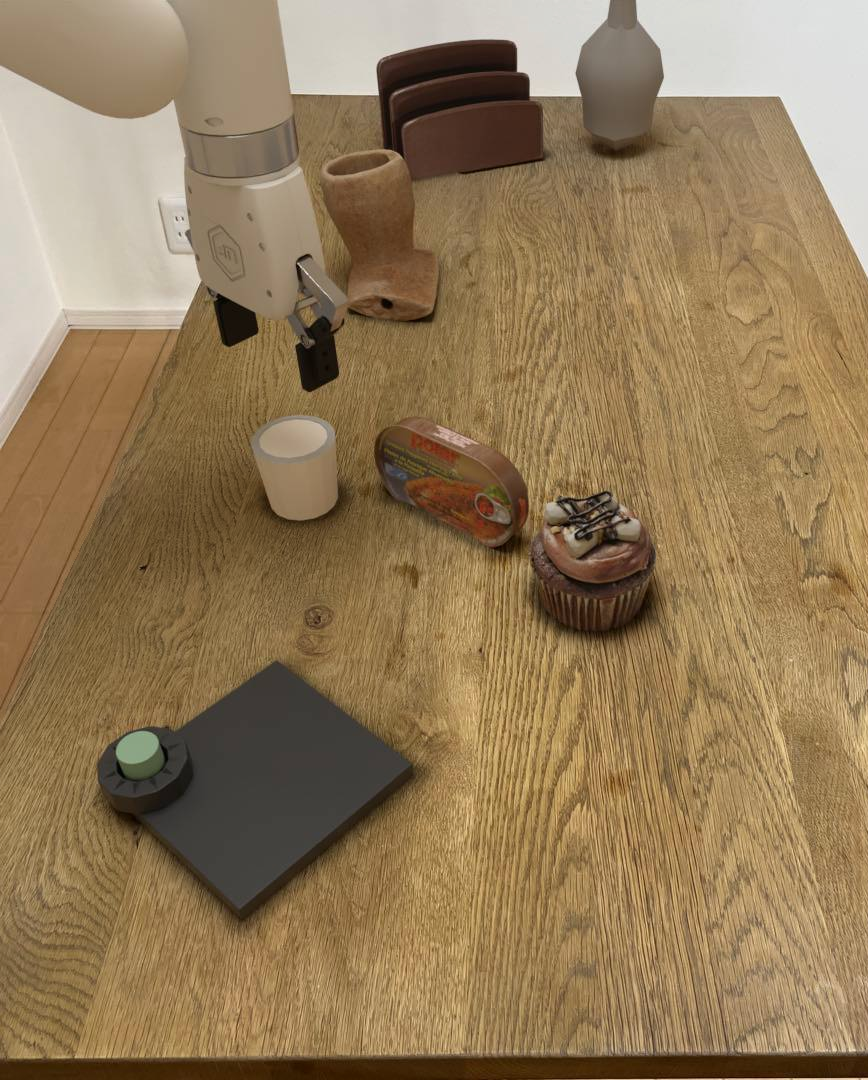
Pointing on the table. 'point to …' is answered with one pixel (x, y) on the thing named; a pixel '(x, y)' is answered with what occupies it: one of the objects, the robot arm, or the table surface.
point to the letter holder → (458, 108)
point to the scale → (257, 785)
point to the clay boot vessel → (380, 235)
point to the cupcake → (592, 562)
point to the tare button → (140, 755)
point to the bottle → (619, 78)
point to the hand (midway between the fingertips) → (280, 361)
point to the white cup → (297, 465)
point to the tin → (452, 479)
